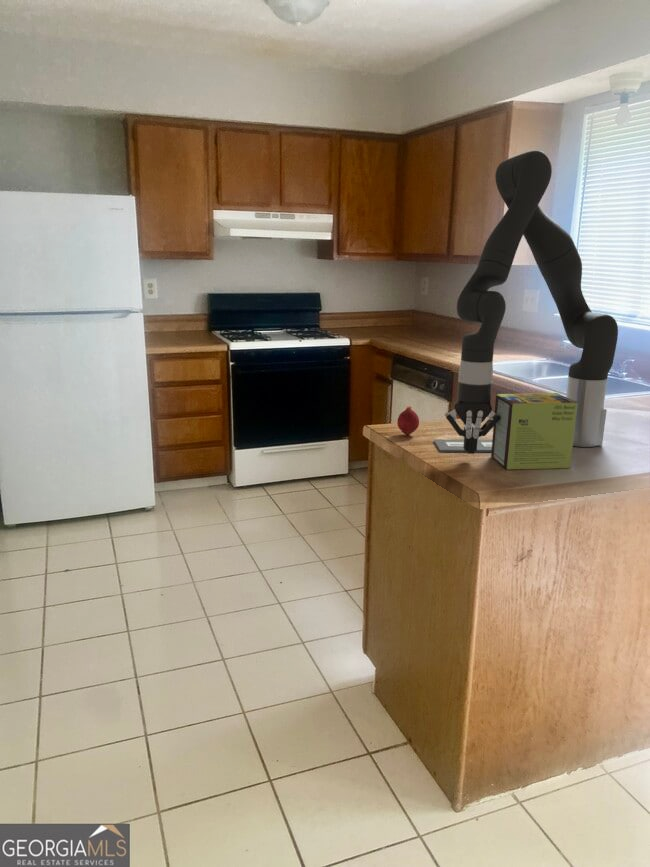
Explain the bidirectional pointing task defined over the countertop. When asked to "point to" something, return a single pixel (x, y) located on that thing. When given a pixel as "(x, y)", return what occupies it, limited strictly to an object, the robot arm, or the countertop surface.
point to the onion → (408, 421)
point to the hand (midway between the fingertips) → (469, 452)
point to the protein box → (534, 431)
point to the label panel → (462, 445)
